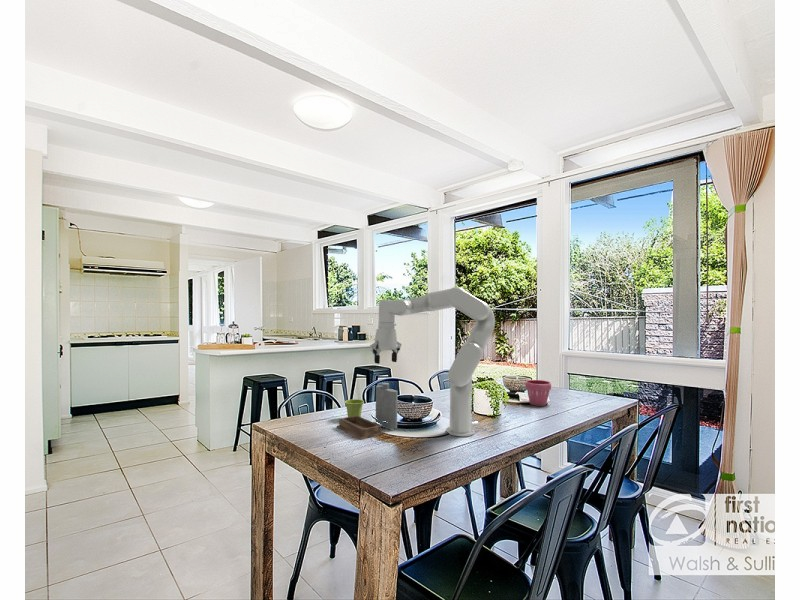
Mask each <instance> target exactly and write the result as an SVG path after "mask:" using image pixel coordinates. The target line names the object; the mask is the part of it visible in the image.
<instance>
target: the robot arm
mask: <svg viewBox="0 0 800 600" xmlns="http://www.w3.org/2000/svg"><path fill="white" fill-rule="evenodd" d="M451 308H455V309H456V310H458V311H460V312H461V313H463V314H464V315H466V316H468V317H469V318H471V319H472V320H474V321H475V323H474V326H473V328H472V329H471V332H470V334H469V336H468V338H467V340H466V341H465V342H464V343H463V345H461V347H460V349H459V351H458V352H457V354H456V356H455V359H454V360H453V362H452V364H451V366H450V368H449V370H448V372H447V379H448V381H449V383H450V384H449V385H450V387H449V391H450V393H449V426H448V427H446V428H445V432H446V431H447V432H448V433H449V434H448V433H447V432H446V433H447V434H448V435H450V436H455V437H470V436H473V435H474V434H475V429H474V427H476V426H478V425H479V422H478V421H477V420H475V421H472V392H473V391H472V389H473V387H472V386H473V375H474V373H475V371H476V369H477V367H478V365H479V364H480V362H481V359H482V356H483V354H484V352H485V349H486V347H487V346H488V343H489V341H490V339H491V338H492V335H493V333H494V330H495V326H496V318H495V314H494V312H493V309H492V307H490V305H489V304H488V303H487V302H485V301H483V300H481V299H479V298H477V297H475V296H474V295H472V294H471V293H469V292H468V291H466V289H464V288H462V287H459V286H454V287H451V288H447V289H443V290H437V291H432V292H429V293H426V294H425V295H421V296H416V297H412V298H406V299H405V298H404V299H380V300H379V302H378V324H377V325H378V328H376V331H375V334H374V335H375V336H374V342H373V343H371V344H369V348H370V350H371V352H372V354H373V355H374V356H373V357H374V363H375V364H377V365H378V364H380V363H381V355H380V353H381V352H382V351H383V352H384V351H385V352H386V351H391V352H392V353H391V362H393V363H397V362H398V361H397V360H398V354H399V351H400V350H401V347H402V343H401V342H399V341H398V340H397V339H398V338H397V330H396V328H395V327H396V326H397V323H395V317H396V316H398V317H399V316H400V317H401V316H402V317H404V316H410V315H413V314H420V313H423V312H424V313H425V312H435V311H439V310H441V311H442V310H446V309H451Z"/></svg>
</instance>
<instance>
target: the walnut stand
mask: <svg viewBox="0 0 800 600" xmlns="http://www.w3.org/2000/svg"><path fill="white" fill-rule="evenodd" d="M338 419H339V421H338V424H339V425H336V428H337V429H338V430H340V431H342V432H344V433H346V434H348V435H349V436H352V437H354V438H355V439H357V440H365V439H369V438H375V437H379V436H384V432H383V431H382V426H380V425H378V424H377V423H375V422H373V421H370V420H369V419H366V418H364V417H362V416H361V417H359V416H352V417H348V416H346V417H342V418H338Z"/></svg>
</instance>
